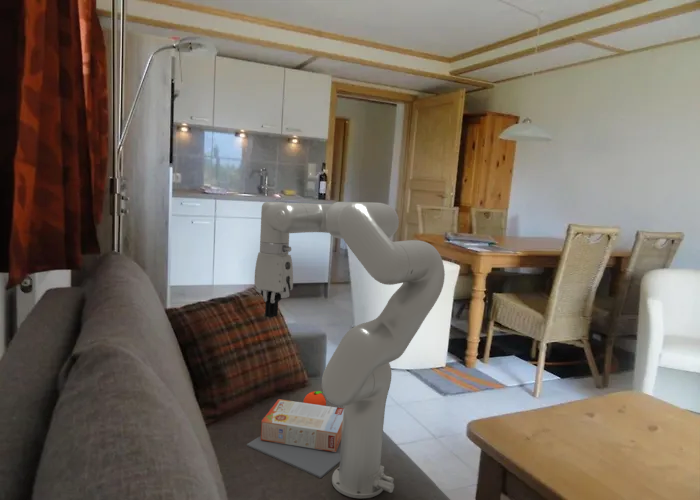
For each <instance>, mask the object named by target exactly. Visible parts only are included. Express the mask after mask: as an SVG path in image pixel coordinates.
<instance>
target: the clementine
mask: <svg viewBox="0 0 700 500" xmlns="http://www.w3.org/2000/svg"><path fill="white" fill-rule="evenodd" d="M302 403H309V404H316V405H323V406H327V399H326V397H325V395H324V393H323V391H321V390H319V391H317V390H316V391H310V392H309V393H307V394H306V395H305V397H304V398H303V402H302Z"/></svg>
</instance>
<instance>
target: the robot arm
mask: <svg viewBox="0 0 700 500" xmlns="http://www.w3.org/2000/svg"><path fill="white" fill-rule="evenodd" d="M260 211H261V214H260V215H261V216H260V217H261V218H260V237H259V238H260V239H259V240H260V242H259V252H258V253H257V256H256V257H257V258H256V260H255V261H256V263H255V270H254V278H253V279H254V287H255V291H256V292H258V293H259V294H261V296H262V298H263V301H264V302H265V305H264V306H265V307H264V308H265V313H264V316H265V317H266V318H269V319H271V318H274V317H278V311H279V310H278V309H279V302H281V300H282V299H286V298H289V297H290V291H292V290H293V287H294V268H293V260H292V255H291V254H289V252H291V251H292V247H291V246H290V234H301V233H322V234H323V233H324V234H329V235H330V236H331V237H333V238H335V239H343V241H344V242H345V245H347V247H348V248H349V250H350V251H351V252H352V254H353V255H354V256H355V257H356V258H357V260H358V261H359V263H360V264H361V265H362V267H363V268H364V269H365V270H366V271H367V273H368V274H369V275H370V276H371V277H372V278H373V279H374V280H375V281H377V282H378V283H380V284H383V285H388V286H391V285H392V286H393V285H398V284H401V285H400V287H398V289H397V290H396V291H395V292H394V293H393V294H392V296H390V298H389V299H388V301H387V304H386V305H385V306H384V307H383V309H382V311H381V313H380V314H379V315H378V316H377V317H376V318H374V319H372V320H369V321H367V322H364V323H360V324H357V325H355V326H353V327H351V328H350V329H348V331H347V332H346V333H345V334H344V336H343V337H342V338H341V340H340V341H339V343H338V345H337V347H336V349H335V350H334V352H333V354H332V356H331V357H330V359H329V361H328V362H327V364H326V366H325V369H324V371H323V373H322V375H321V376H322V378H321V389H322V392H323V393H322V394H323V396H324V397H325V399H326V401H328V402H329V403H330V404H332V405H334V406H335V407H343V408H344V411H343V422H342V437H341V451H340V463H339V467H337V468H336V469H335V470H334V471H333V472H332V475H331V485H333V487H334V489H335V490H336V491H337V492H338V493H340V494H342V495H344V496H346V497H348V498H353V499H358V500H359V499H363V500H364V499H371V498H373V497H377V496H378V495H380V494H381V493H382V492H383V491H385V492H388V493H393V491H394V488H395V484H394V480H395V479H394V477H391V476H389V475H387V474H385V466H384V465H382V464H381V460H382V448H383V446H382V445H383V438H384V437H383V436H384V435H383V433H384V425H385V412H386V411H385V410H386V403H387V399H388V395H389V391H390V387H391V384H392V383H391V382H392V374H393V373H392V367H391V363H392V362H393V361H396V360H398V359H399V358H400V357H401V356H402V355H403V354H404V353H405V352H406V350H407V348H408V347H409V345H410V343H411V341H412V340H413V339H414V337H415V335H416V334H417V333H418V331H419V329H420V328H421V326H422V324H423V323H424V322H425V319H426V318H427V316H428V315H429V314H430V312H431V311H432V309H433V307H434V306H435V305H436V303H437V301H438V299H439V297H440V295H441V293H442V290H443V287H444V283H445V275H446V274H445V265H444V262H443V258H442V256H441V254H440V253H439V251H438V249H437V248H436V247H435V246H434V245H432V244H430V243H429V242H426V241H425V240H424V241H423V240H416V239H412V240H411V239H408V240H400V241H399V240H398V241H392V240H391V239H390V238H392V237H393V236H394V235H395V233H397V230H398V229H399V226H400V225H399V224H400V223H399V222H400V219H399V216H398V213H397V211H396V210H395V209H394V208H393V207H392V206H391V205H389V204H387V203H385V202H384V203H383V202H371V201H370V202H369V201H368V202H367V201H366V202H365V201H361V202H358V201H336V202H334V203H306V202H305V203H304V202H303V203H301V202H298V203H296V202H292V203H291V202H285V201H284V202H283V201H265V202H263V203H262V205H261V210H260Z"/></svg>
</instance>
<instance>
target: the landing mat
mask: <svg viewBox="0 0 700 500" xmlns="http://www.w3.org/2000/svg"><path fill="white" fill-rule="evenodd" d="M246 446H247V447H249V448H250V449H252V450H255V451H258V452H259V453H263V454H264V455H267V456H269V457H270V458H271V457H272V458H274V459H275V460H278V461H279V462H280V461H281V462H282V463H284V464H288V465H289V466H291V467H294V468H296V469H298V470H300V471H303V472H305V473H308V474H310V475H312V476H314V477H317V478H318V479H322V478H323V477H324V476H326V475H327V474H328V473H329V472H331V471H332V470H333V469H334V468H335V467H336V466H338V464H339V465H340V451H341V441H340V443H339V446H338V448H337V451H336V452H330V451H324V450H318V449H312V448H306V447H300V446H294V445H288V444H282V443H275V442H269V441H263V440H261V435H260V436H258V437H256V438H255V439H253V440H251V441H250V442H249V443H248V442H247V444H246Z"/></svg>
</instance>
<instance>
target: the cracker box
mask: <svg viewBox="0 0 700 500" xmlns="http://www.w3.org/2000/svg"><path fill="white" fill-rule="evenodd" d="M343 411H344V407H338V406H328V405H326V406H323V405H316V404H309V403H303V402H301V401H293V400H288V399H280V398H279V399H277V401H276V402H275V403H274V404H273V406H272V407H271V408H270V409H269V411H268V412H267V413H266V414H265V416H264V417H263V418H262V419H261V421H260V422H261V424H260V426H261V427H260V436H261V440H263V441H269V442H275V443H282V444H288V445H294V446H300V447H306V448H312V449H318V450H324V451H330V452H336V451H337V448H338V446H339V443H340V441H341V437H342V422H343Z"/></svg>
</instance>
